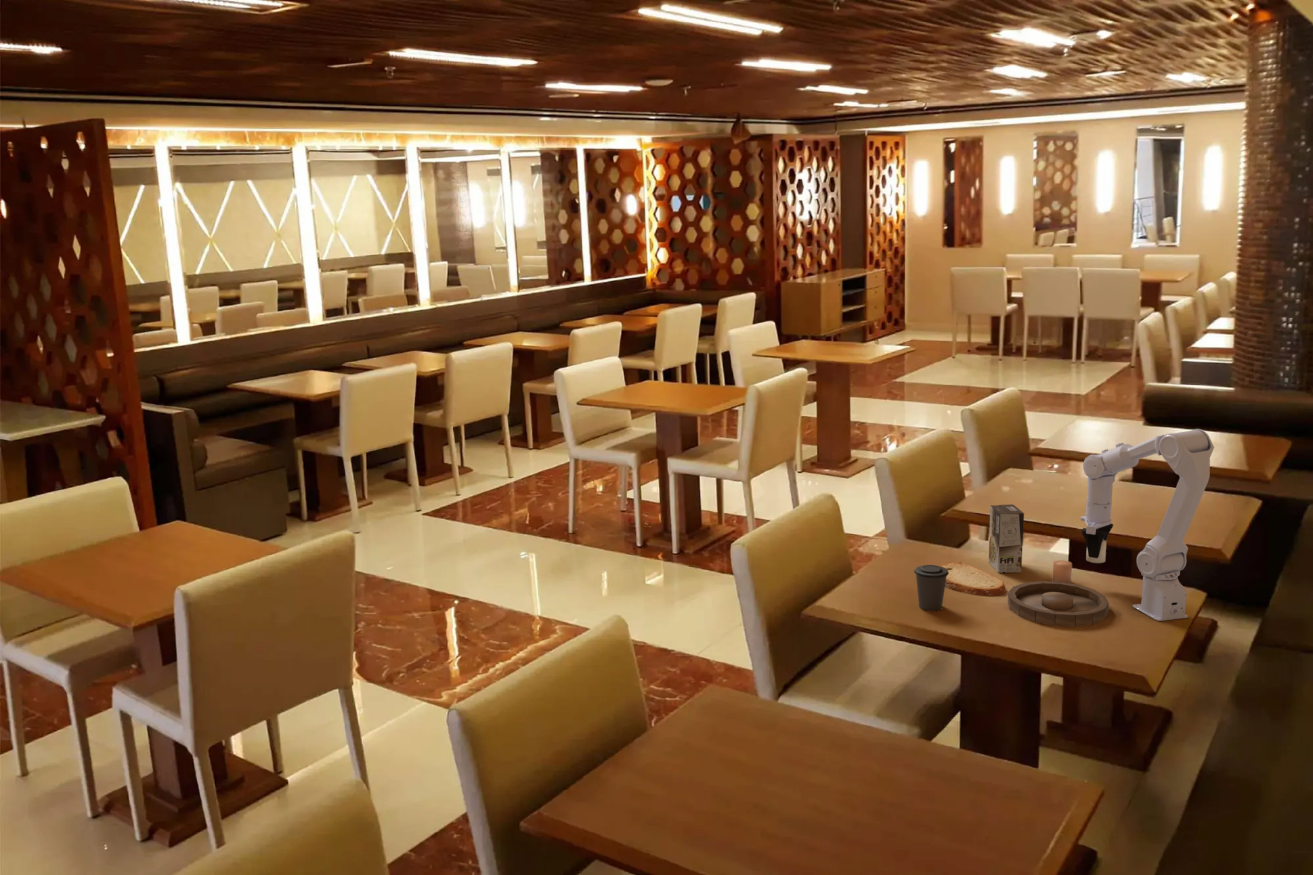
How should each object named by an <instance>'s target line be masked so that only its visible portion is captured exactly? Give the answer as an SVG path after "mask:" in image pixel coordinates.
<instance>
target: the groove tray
mask: <svg viewBox="0 0 1313 875" xmlns="http://www.w3.org/2000/svg"><path fill="white" fill-rule="evenodd" d="M1007 605H1008V609H1009V611H1011V612H1012V613H1014V614H1015V615H1017V616H1018V617H1020V618H1022V619H1025V620H1029V621H1031V622H1034V623H1038V624H1044V625H1049V626H1056V627H1081V626H1090V625H1091V626H1092V625H1095V624H1097V623H1100V622H1103V621H1105V620H1106V618H1107V616H1108V615H1109V605H1110V602H1109V600H1108V598H1107V597H1106V595H1104V594H1102V593H1101V592H1099V591H1097V590H1096V589H1094V588H1090V587H1087V586H1083V585H1081V584H1075V583H1072V582H1071V583H1064V582H1053V580H1052V581H1049V580H1048V581H1047V580H1038V581H1029V582H1023V583H1021V584H1018V585H1017V584H1016V585H1014V586H1012V588H1010V590H1008V591H1007Z"/></svg>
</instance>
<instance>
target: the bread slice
mask: <svg viewBox="0 0 1313 875" xmlns="http://www.w3.org/2000/svg"><path fill="white" fill-rule="evenodd" d="M940 566H941V567H944V568H946V569H947V571H948V572H949V574H948V575H947V576H946V583H945V588H947V589H952V590H956V591H959V592H961V593H966V594H971V595H978V596H990V597H991V596H992V597H993V596H1002V594H1004V595H1005V593H1006V592H1007V593H1008V590H1007V588H1006V586H1005V585H1006V584H1004V582H1003V581H1002V580H1000V579H999V578H998V577H996V576H994V575H993V574H990V573H988V572H986V571H984V570H981V569H979V568H976V567H974V566H971V565H969V564H967V563H964V562H962V561H957V562H956V561H953V562H950V563H946V564H944V565H940ZM1007 593H1006V594H1007Z"/></svg>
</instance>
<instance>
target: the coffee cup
mask: <svg viewBox="0 0 1313 875" xmlns="http://www.w3.org/2000/svg"><path fill="white" fill-rule="evenodd" d="M941 566H942V565H940V566H939V565H935V564H924V565H919V566H917V567H916V568H915V569H914V570H913V573H914V574H915V576H916V578H915V579H916V588H917V597H918V607H919V608H920V609H922V610H924V611H929V612H937V611H940V610H942V608H943V602H944V596H945V590H946V587H945V583H946V576H947V575H948V574H949V572H948V571H947V569H946V568H944V567H941Z"/></svg>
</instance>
